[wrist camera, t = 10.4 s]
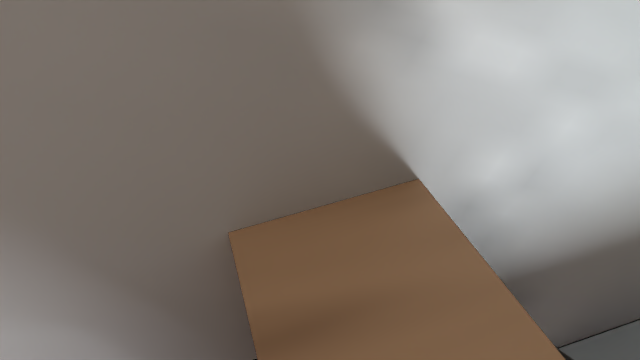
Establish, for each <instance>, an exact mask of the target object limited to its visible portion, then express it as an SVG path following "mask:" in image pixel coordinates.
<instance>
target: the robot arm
mask: <svg viewBox="0 0 640 360" xmlns="http://www.w3.org/2000/svg"><path fill="white" fill-rule="evenodd" d="M556 349H557V350H558V351H559V352H560V354H561V355H562V356H563V357H564V359H565V360H574V359H572V358H571V357H569V356H568V355H566V354H565V353H564V352H562V351H561V350H559V349H558V348H557V347H556ZM254 360H258V359H254Z"/></svg>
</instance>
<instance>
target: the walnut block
mask: <svg viewBox="0 0 640 360" xmlns="http://www.w3.org/2000/svg"><path fill="white" fill-rule="evenodd" d="M228 234H229V239H230V243H231V247H232V252H233V256H234V260H235V264H236V269H237V273H238V277H239V282H240V286H241V290H242V295H243V299H244V303H245V308H246V312H247V316H248V320H249V325H250V329H251V333H252V338H253V342H254V346H255V351H256V355H257V359H258V360H565V359H564V357H563V356H562V355H561V354H560V352H559V351H558V350H557V349H556V347H555V346H554V345H553V344H552V342H551V341H550V340H549V339H548V338H547V336H546V335H545V334H544V333H543V331H542V330H541V329H540V328H539V326H538V325H537V324H536V323H535V322H534V320H533V319H532V318H531V317H530V315H529V314H528V313H527V312H526V310H525V309H524V308H523V307H522V305H521V304H520V303H519V302H518V301H517V299H516V298H515V297H514V296H513V294H512V293H511V292H510V291H509V289H508V288H507V287H506V286H505V285H504V283H503V282H502V281H501V280H500V278H499V277H498V276H497V275H496V273H495V272H494V271H493V270H492V268H491V267H490V266H489V265H488V264H487V262H486V261H485V260H484V259H483V257H482V256H481V255H480V254H479V252H478V251H477V250H476V249H475V248H474V246H473V245H472V244H471V243H470V241H469V240H468V239H467V238H466V236H465V235H464V234H463V233H462V231H461V230H460V229H459V228H458V227H457V225H456V224H455V223H454V222H453V220H452V219H451V218H450V217H449V215H448V214H447V213H446V212H445V211H444V209H443V208H442V207H441V206H440V204H439V203H438V202H437V201H436V199H435V198H434V197H433V196H432V194H431V193H430V192H429V191H428V190H427V188H426V187H425V186H424V185H423V183H422V182H421V181H420V180H419V179H417V180H413V181H410V182H406V183H402V184H399V185H395V186H392V187H388V188H385V189H381V190H378V191H374V192H371V193H367V194H363V195H360V196H356V197H353V198H349V199H346V200H342V201H339V202H335V203H332V204H328V205H324V206H321V207H317V208H314V209H310V210H307V211H303V212H300V213H296V214H293V215H289V216H285V217H282V218H278V219H275V220H271V221H268V222H264V223H261V224H257V225H254V226H250V227H247V228H243V229H239V230H236V231H232V232H229V233H228Z"/></svg>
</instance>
